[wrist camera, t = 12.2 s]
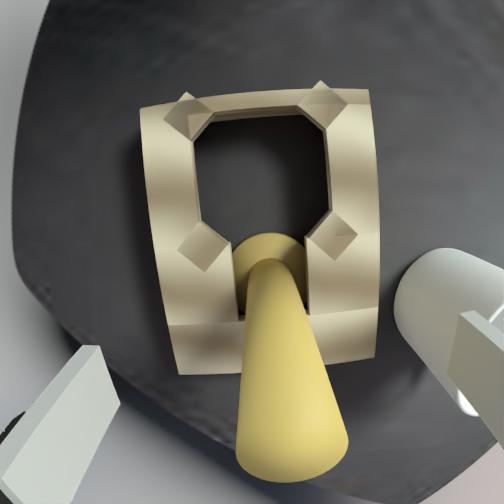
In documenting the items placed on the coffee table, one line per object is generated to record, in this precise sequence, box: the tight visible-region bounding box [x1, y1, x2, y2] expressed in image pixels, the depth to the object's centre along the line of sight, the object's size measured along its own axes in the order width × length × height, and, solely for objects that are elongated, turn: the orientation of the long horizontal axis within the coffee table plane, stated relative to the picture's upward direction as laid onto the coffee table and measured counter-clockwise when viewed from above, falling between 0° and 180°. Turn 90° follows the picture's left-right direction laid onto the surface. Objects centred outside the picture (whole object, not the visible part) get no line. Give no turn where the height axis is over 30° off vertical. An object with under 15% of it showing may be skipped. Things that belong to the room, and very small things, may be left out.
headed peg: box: [232, 232, 348, 482], centre depth 15 cm, size 6×6×16 cm
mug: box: [394, 248, 504, 416], centre depth 18 cm, size 9×12×11 cm
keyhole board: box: [140, 81, 380, 375], centre depth 21 cm, size 19×14×3 cm
